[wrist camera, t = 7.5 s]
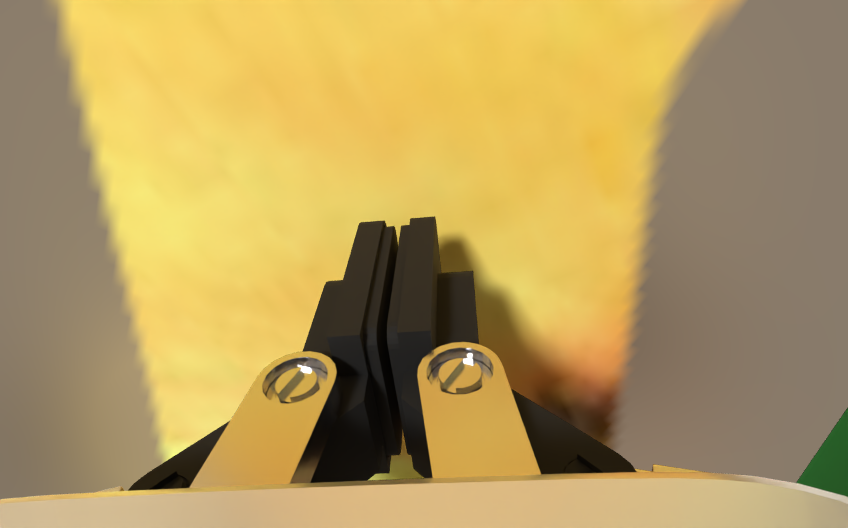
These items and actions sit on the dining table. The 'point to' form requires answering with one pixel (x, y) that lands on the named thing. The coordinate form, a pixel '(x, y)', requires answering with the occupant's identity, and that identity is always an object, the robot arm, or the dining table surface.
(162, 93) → the dining table surface
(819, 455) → the milk carton
